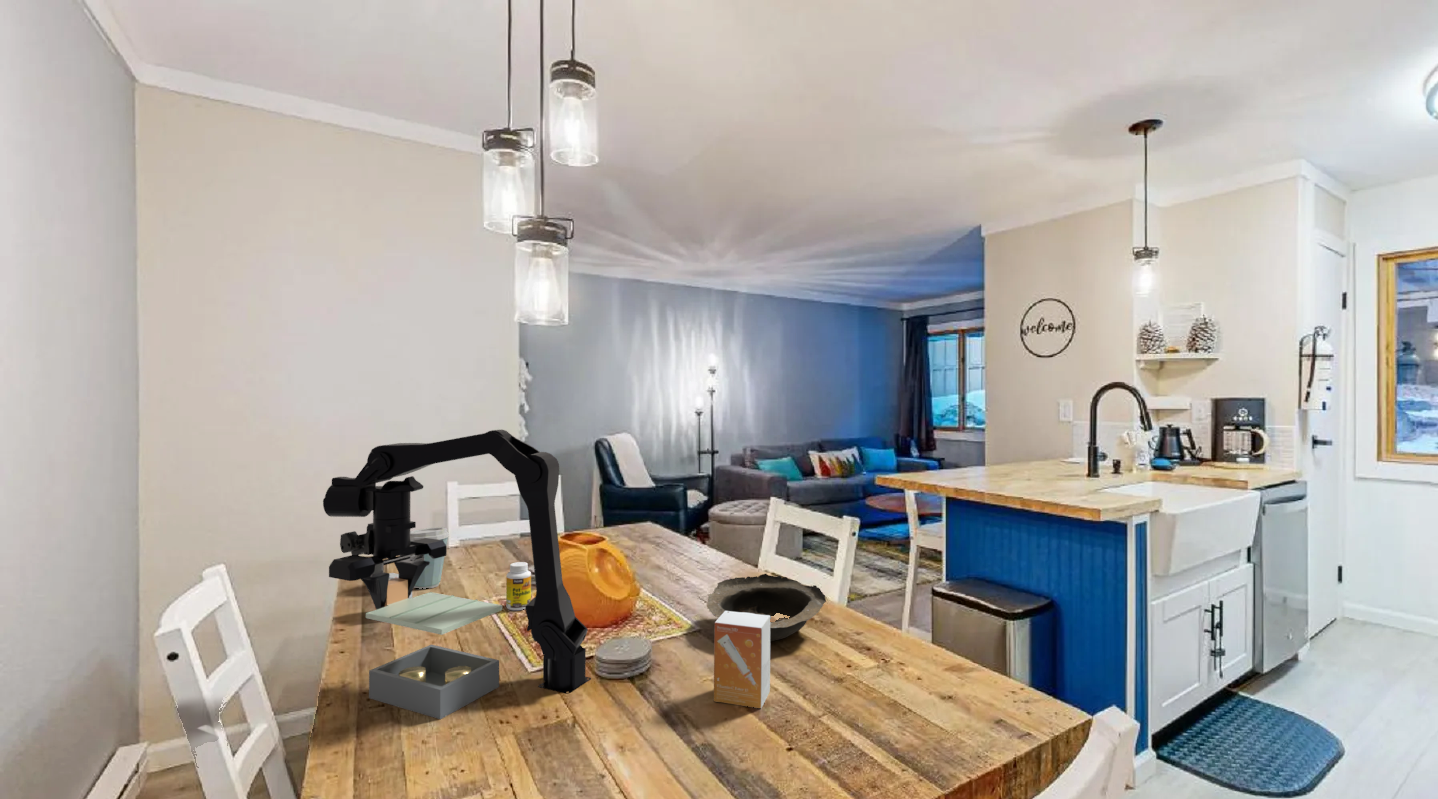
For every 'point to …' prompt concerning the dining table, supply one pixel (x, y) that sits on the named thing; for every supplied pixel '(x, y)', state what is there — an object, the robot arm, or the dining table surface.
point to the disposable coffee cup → (434, 569)
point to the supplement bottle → (518, 586)
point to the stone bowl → (768, 601)
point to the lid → (429, 609)
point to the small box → (742, 658)
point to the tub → (434, 681)
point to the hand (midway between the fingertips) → (391, 607)
